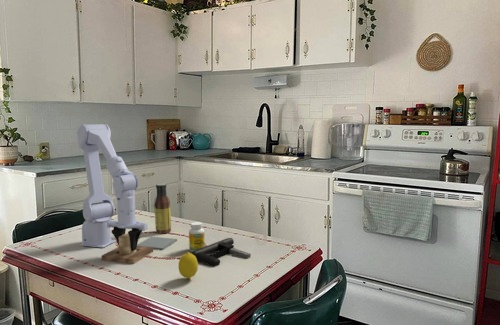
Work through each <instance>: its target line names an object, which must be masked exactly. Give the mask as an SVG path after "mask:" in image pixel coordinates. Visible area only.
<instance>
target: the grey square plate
mask: <svg viewBox="0 0 500 325" xmlns="http://www.w3.org/2000/svg"><path fill="white" fill-rule="evenodd" d="M177 241H178V238H172V237H171V238H170V237H161V236H160V237H159V236H149V237H148V238H146V239H145V240H143V241H141V242H139V243H137V246H144V247H153V250H159V251H163V250H165V249H167V248H168V247H169V246H171V245H172V244H175V243H176V242H177Z"/></svg>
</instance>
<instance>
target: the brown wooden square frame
mask: <svg viewBox="0 0 500 325" xmlns="http://www.w3.org/2000/svg"><path fill="white" fill-rule="evenodd" d="M136 251H137V252H135V253H134V254H132V255H124V254H119V246H117V247H115V248H113V249H112V250H110V251H108V252H106V253H104V254H102V255H101V261H108V262H114V263H122V264H131V265H134V264H136V263H138V262H139V261H141V260H142V259H144V258H145V257H147V256H148V255H151V253H153V252H154V249H153V247H144V246H137V248H136Z"/></svg>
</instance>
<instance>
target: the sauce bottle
mask: <svg viewBox="0 0 500 325" xmlns="http://www.w3.org/2000/svg"><path fill="white" fill-rule="evenodd" d="M155 189H156V198H155V201H154V219H155V220H154V223H155V232H156V233H157V234H161V235H162V234H168V233H169V234H170V232H172V213H171V201H170V198H169V197H168V195H167V183H164V182H162V183H157V184H155Z"/></svg>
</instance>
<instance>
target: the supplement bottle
mask: <svg viewBox="0 0 500 325" xmlns="http://www.w3.org/2000/svg"><path fill="white" fill-rule="evenodd" d="M188 242H189V243H188V244H189V245H188V246H189V251H190V252H192V251H195V250H198V249H200V248H203V247H205V246H206V244H205V243H206V242H205V229H204V228H203V223H202V222H200V221H195V222H191V223H190V229H189V230H188Z"/></svg>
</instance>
